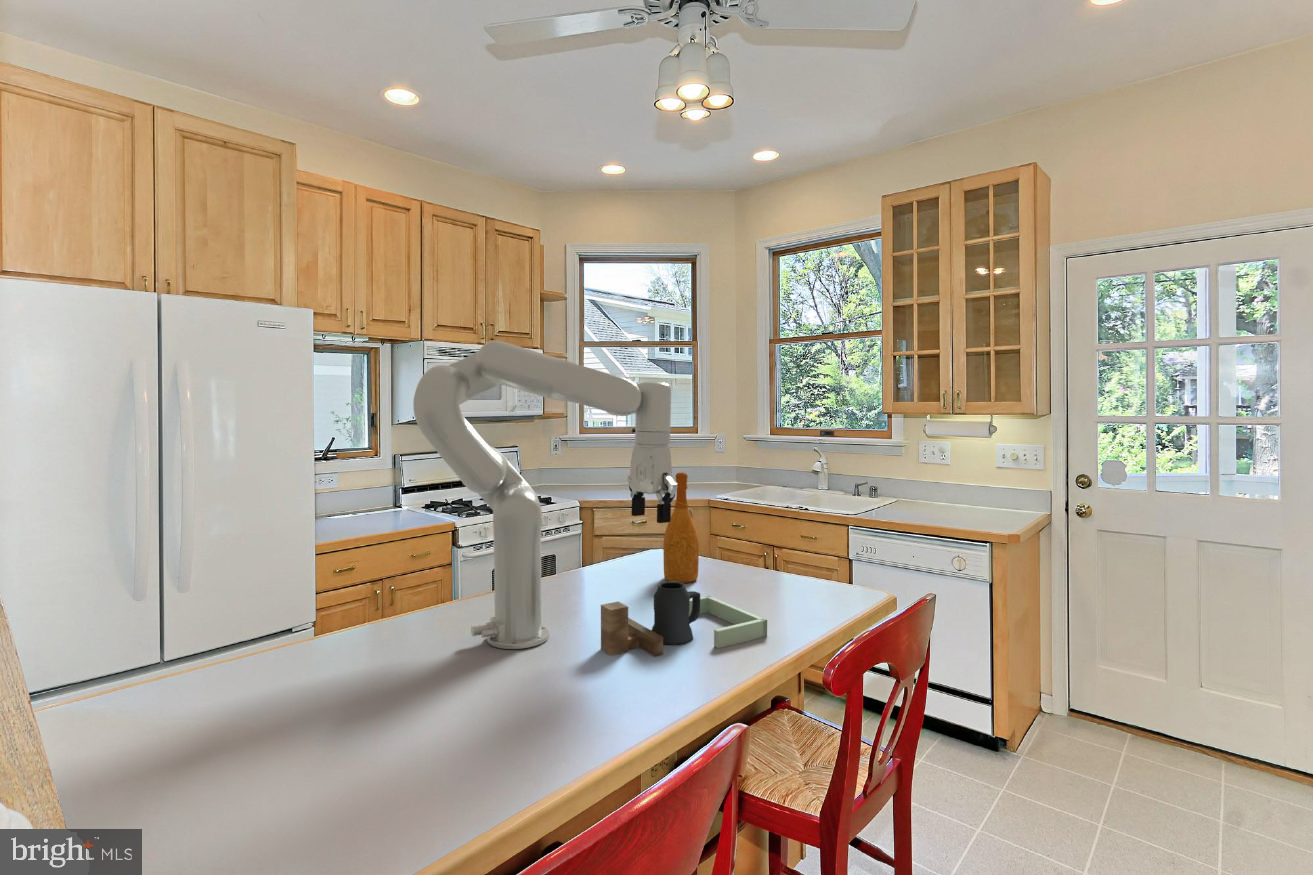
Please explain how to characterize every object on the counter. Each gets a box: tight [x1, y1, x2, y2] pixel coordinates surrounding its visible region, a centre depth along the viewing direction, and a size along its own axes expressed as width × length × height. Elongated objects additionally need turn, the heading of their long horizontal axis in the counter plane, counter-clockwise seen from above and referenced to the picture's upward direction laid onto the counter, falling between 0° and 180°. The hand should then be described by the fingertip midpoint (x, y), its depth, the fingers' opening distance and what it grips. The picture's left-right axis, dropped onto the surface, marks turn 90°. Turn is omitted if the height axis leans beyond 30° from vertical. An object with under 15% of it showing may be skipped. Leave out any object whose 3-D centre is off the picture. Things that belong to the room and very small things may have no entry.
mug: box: [651, 581, 701, 647], centre depth 138 cm, size 12×9×11 cm
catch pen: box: [689, 595, 768, 649], centre depth 143 cm, size 13×20×4 cm, turn 32°
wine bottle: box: [662, 471, 700, 584], centre depth 182 cm, size 10×10×30 cm
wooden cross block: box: [600, 601, 664, 658], centre depth 131 cm, size 9×14×9 cm, turn 33°
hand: (650, 518), depth 141 cm, fingers open, 9 cm apart
